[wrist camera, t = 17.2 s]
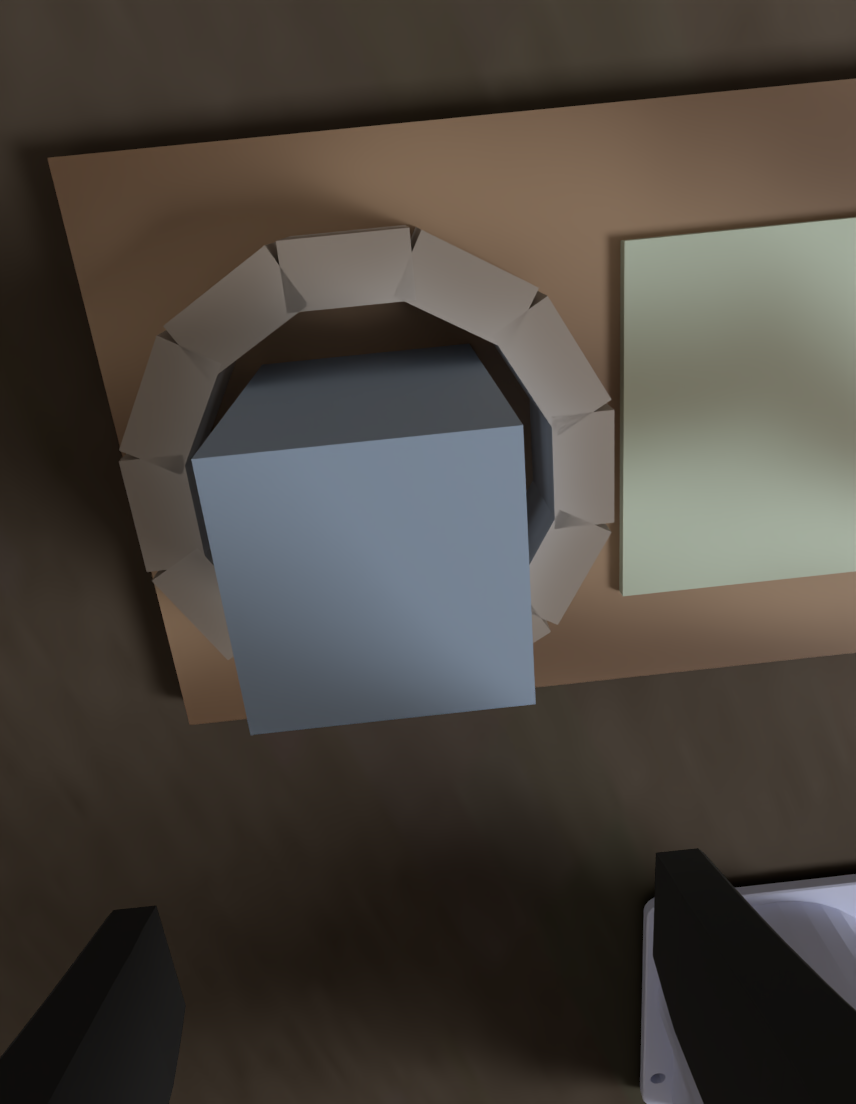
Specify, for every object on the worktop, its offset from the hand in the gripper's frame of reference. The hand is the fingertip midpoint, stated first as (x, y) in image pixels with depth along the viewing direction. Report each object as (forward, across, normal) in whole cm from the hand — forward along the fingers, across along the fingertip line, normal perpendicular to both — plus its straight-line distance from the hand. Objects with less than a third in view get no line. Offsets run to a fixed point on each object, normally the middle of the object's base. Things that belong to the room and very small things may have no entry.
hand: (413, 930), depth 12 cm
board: (+10, -4, -5) cm, 12 cm away
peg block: (+9, 0, -5) cm, 10 cm away
